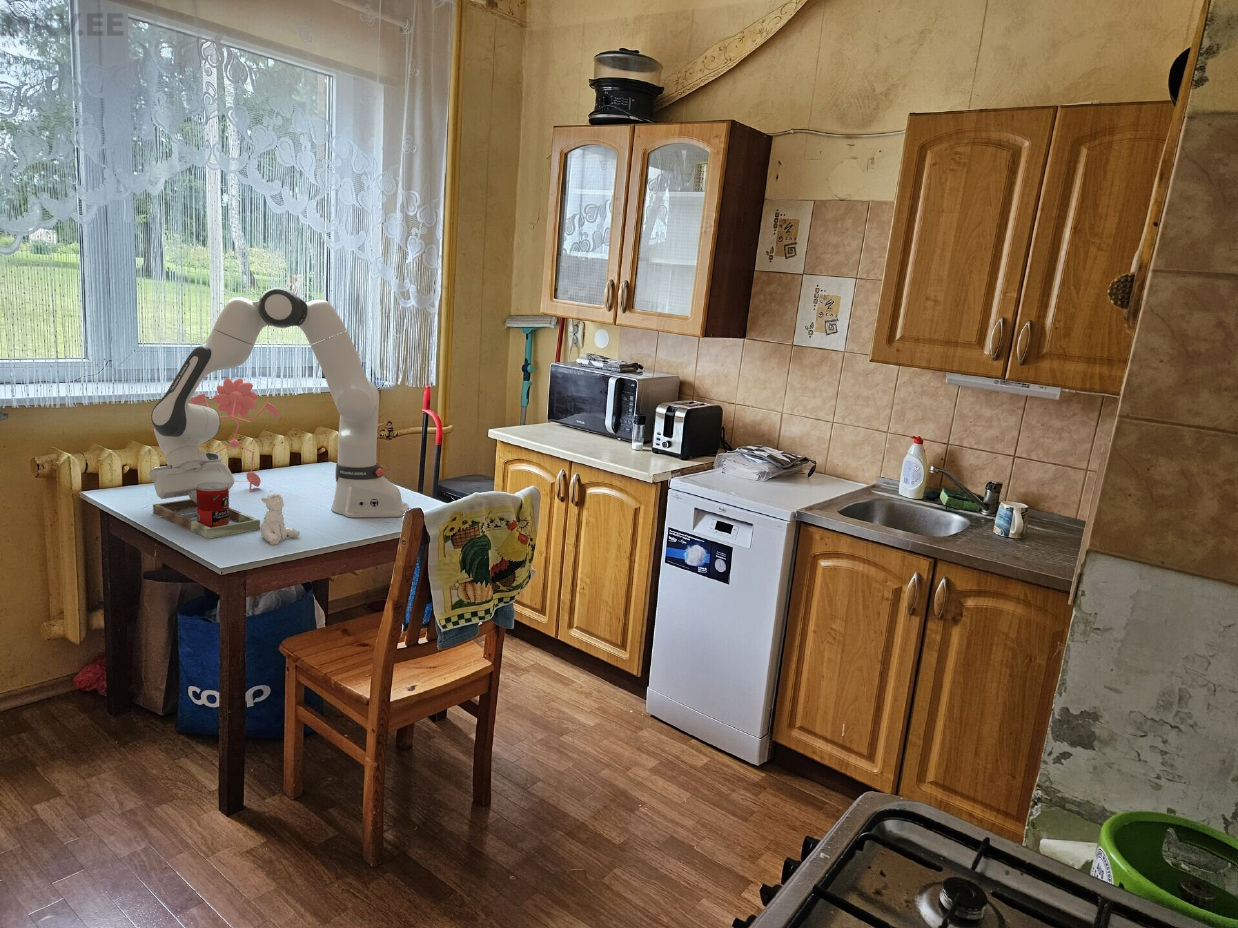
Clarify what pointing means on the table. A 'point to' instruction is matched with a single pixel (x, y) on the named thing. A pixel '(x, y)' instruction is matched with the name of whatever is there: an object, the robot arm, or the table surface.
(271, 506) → the sitting furry creature
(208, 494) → the canned food
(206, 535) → the shallow wooden tray
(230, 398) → the flower headed marionette
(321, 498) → the table surface
